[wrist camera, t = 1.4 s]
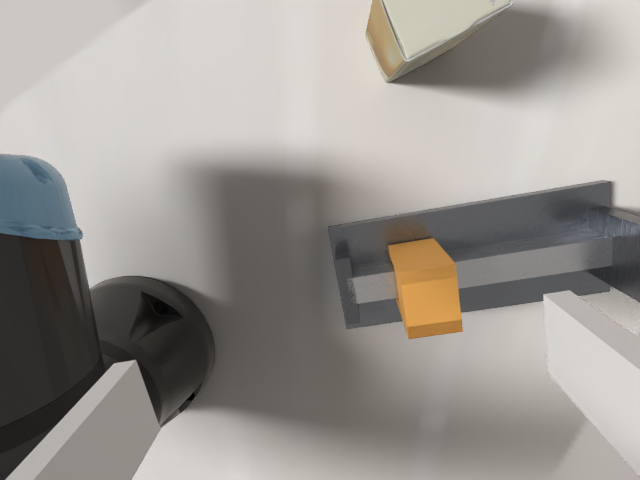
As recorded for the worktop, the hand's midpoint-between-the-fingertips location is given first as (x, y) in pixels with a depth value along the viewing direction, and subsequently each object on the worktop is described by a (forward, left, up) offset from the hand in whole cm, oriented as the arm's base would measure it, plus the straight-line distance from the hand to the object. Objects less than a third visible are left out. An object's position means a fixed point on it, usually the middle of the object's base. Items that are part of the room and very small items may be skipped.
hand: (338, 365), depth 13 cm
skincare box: (+8, +13, -25) cm, 29 cm away
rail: (+11, -6, -24) cm, 27 cm away
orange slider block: (+6, -6, -23) cm, 25 cm away
